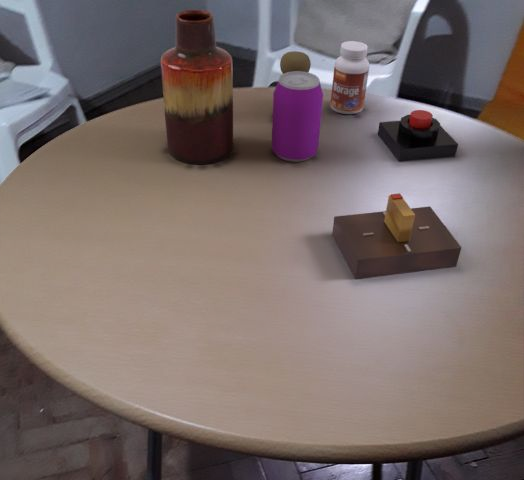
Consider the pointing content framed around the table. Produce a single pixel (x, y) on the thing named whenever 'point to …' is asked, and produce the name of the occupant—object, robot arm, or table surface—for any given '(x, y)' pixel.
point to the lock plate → (394, 244)
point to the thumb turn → (399, 217)
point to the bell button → (420, 119)
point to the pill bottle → (350, 78)
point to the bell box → (416, 140)
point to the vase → (197, 92)
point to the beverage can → (296, 116)
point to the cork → (295, 62)
